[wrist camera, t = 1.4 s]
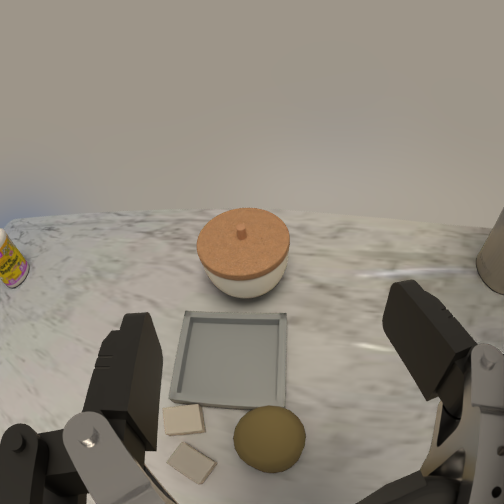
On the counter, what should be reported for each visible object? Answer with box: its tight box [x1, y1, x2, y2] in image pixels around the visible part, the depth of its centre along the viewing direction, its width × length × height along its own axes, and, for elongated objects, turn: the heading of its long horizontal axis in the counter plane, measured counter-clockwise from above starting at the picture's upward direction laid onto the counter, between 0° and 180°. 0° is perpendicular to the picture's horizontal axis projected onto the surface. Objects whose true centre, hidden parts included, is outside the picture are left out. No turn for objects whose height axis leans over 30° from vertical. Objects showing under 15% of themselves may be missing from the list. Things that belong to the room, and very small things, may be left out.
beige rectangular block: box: [166, 442, 217, 484], centre depth 24 cm, size 4×3×2 cm
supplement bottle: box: [0, 228, 29, 288], centre depth 40 cm, size 7×7×13 cm
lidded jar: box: [197, 208, 290, 298], centre depth 37 cm, size 11×11×9 cm
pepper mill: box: [233, 405, 306, 473], centre depth 21 cm, size 6×6×11 cm
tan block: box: [162, 404, 206, 436], centre depth 27 cm, size 4×3×2 cm
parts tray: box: [168, 311, 287, 410], centre depth 31 cm, size 12×11×2 cm
